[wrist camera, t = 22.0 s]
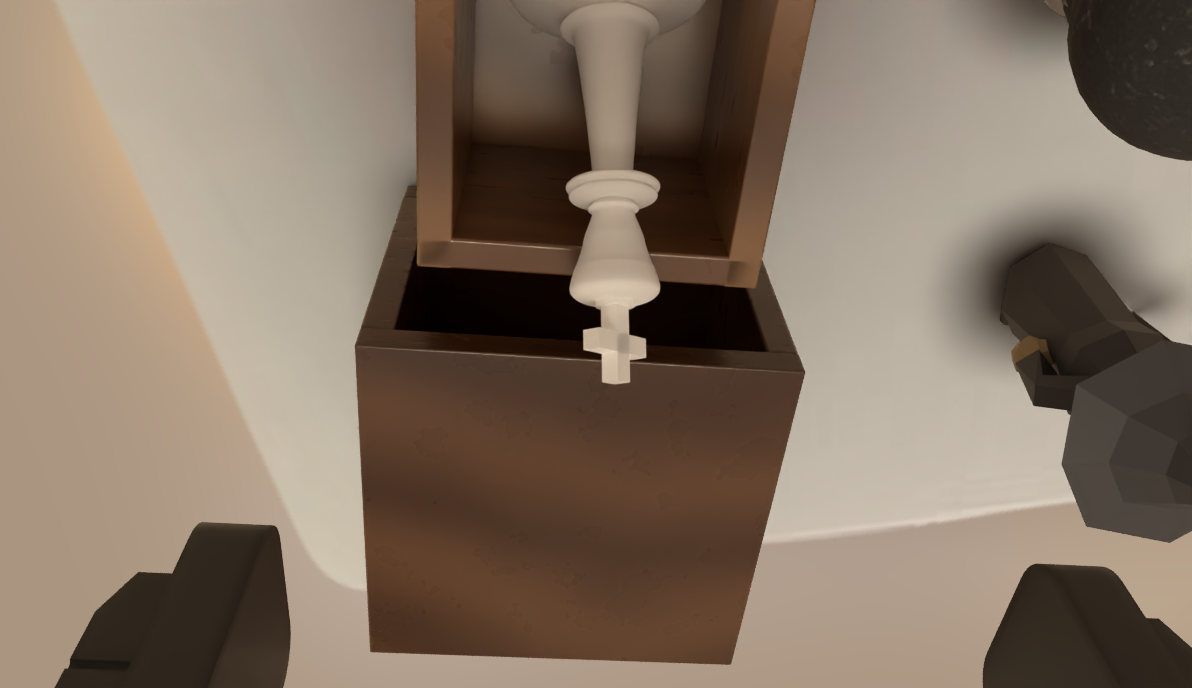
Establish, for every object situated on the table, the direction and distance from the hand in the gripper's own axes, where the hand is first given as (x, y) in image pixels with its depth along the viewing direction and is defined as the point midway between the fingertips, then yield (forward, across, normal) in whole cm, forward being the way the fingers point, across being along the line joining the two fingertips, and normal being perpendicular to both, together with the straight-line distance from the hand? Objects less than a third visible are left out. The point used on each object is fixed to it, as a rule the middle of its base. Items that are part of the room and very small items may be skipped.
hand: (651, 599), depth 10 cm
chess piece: (+17, 0, -3) cm, 17 cm away
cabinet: (+21, 0, +10) cm, 23 cm away
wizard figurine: (+21, -17, +6) cm, 27 cm away
